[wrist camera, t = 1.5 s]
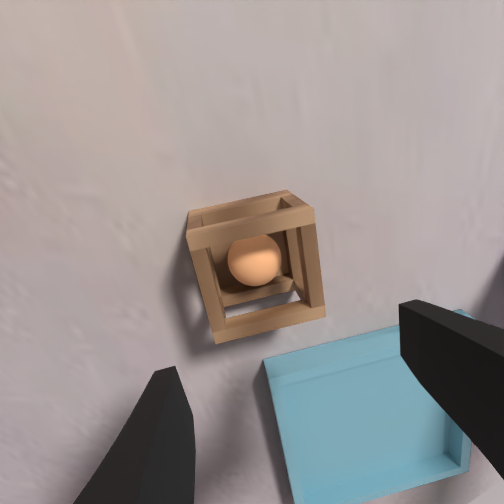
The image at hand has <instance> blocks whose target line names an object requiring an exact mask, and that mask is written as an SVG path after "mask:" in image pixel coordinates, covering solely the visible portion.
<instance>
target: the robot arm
mask: <svg viewBox="0 0 504 504" xmlns="http://www.w3.org/2000/svg"><path fill="white" fill-rule="evenodd" d="M399 332H400V356H401V357H402V359H403V360H404V362H405V363H406V365H407V366H408V368H409V369H410V370H411V372H412V373H413V375H414V376H415V377H416V379H417V380H418V382H419V383H420V384H421V385H422V386H423V388H424V389H425V390H426V391H427V392H428V393H429V394H430V395H431V397H432V398H433V399H434V400H435V401H436V402H437V403H438V404H439V406H440V407H441V408H442V409H443V410H444V411H445V412H446V413H447V414H448V415H449V417H450V418H451V419H452V420H453V421H454V422H455V423H456V424H457V425H458V426H459V428H460V429H461V430H462V431H463V432H464V433H465V434H466V435H467V436H468V438H469V439H470V440H471V441H472V442H473V443H474V444H475V445H476V446H477V447H478V449H479V450H480V451H481V452H482V453H483V455H484V456H485V457H486V458H487V459H488V460H489V462H490V463H491V464H492V465H493V467H494V468H495V469H496V471H497V472H498V473H499V475H500V476H501V477H502V478H503V480H504V329H501V328H498V327H495V326H492V325H489V324H486V323H484V322H481V321H478V320H475V319H472V318H469V317H467V316H464V315H461V314H458V313H456V312H453V311H450V310H447V309H444V308H442V307H439V306H436V305H433V304H430V303H427V302H424V301H420V300H417V299H416V300H412V301H408V302H405V303H401V304H399ZM195 454H196V449H195V434H194V421H193V414H192V411H191V408H190V406H189V403H188V400H187V397H186V395H185V392H184V389H183V386H182V384H181V381H180V378H179V375H178V372H177V370H176V367H175V366H172V367H169V368H165V369H162V370H158V371H155V372H154V374H153V375H152V377H151V379H150V381H149V382H148V384H147V386H146V388H145V390H144V392H143V394H142V395H141V397H140V399H139V401H138V403H137V404H136V406H135V408H134V410H133V412H132V413H131V415H130V417H129V419H128V420H127V422H126V424H125V425H124V427H123V429H122V431H121V432H120V434H119V436H118V437H117V439H116V441H115V442H114V444H113V445H112V447H111V448H110V450H109V452H108V453H107V455H106V456H105V458H104V459H103V461H102V463H101V464H100V466H99V467H98V469H97V470H96V472H95V473H94V475H93V476H92V478H91V479H90V481H89V482H88V483H87V485H86V486H85V488H84V489H83V491H82V492H81V493H80V495H79V496H78V498H77V499H76V500H75V502H74V503H73V504H194V484H195Z"/></svg>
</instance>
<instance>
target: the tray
mask: <svg viewBox="0 0 504 504" xmlns="http://www.w3.org/2000/svg"><path fill="white" fill-rule="evenodd" d="M453 312H456V313H458V314H461V315H464V316H467V317H469V318H472V319H474V318H473V317H471V316H470V315H468V314H467V313H466V312H464V311H463V310H461V309H460V310H456V311H453ZM475 320H476V319H475ZM263 360H264V365H265V370H266V375H267V379H268V384H269V389H270V393H271V398H272V403H273V408H274V412H275V417H276V422H277V427H278V431H279V436H280V441H281V446H282V450H283V455H284V460H285V465H286V469H287V474H288V479H289V483H290V488H291V493H292V497H293V501H294V504H359V503H363V502H366V501H370V500H373V499H376V498H380V497H383V496H387V495H390V494H393V493H397V492H400V491H404V490H407V489H410V488H414V487H417V486H421V485H424V484H427V483H431V482H434V481H438V480H441V479H444V478H448V477H451V476H455V475H458V474H461V473H465V472H468V471H469V464H470V453H471V442H472V441H471V440H470V439H469V438H468V436H467V435H466V434H465V433H464V432H463V431H462V430H461V429H460V428H459V426H458V425H457V424H456V423H455V422H454V421H453V420H452V419H451V418H450V417H449V415H448V414H447V413H446V412H445V411H444V410H443V409H442V408H441V407H440V406H439V404H438V403H437V402H436V401H435V400H434V399H433V398H432V397H431V395H430V394H429V393H428V392H427V391H426V390H425V389H424V388H423V386H422V385H421V384H420V383H419V382H418V380H417V379H416V377H415V376H414V375H413V373H412V372H411V370H410V369H409V368H408V366H407V365H406V363H405V362H404V360H403V359H402V357H401V356H400V332H399V325H397V326H393V327H389V328H385V329H381V330H377V331H373V332H369V333H365V334H361V335H357V336H353V337H350V338H346V339H342V340H338V341H334V342H330V343H326V344H322V345H318V346H314V347H310V348H306V349H302V350H298V351H294V352H290V353H286V354H283V355H279V356H275V357H271V358H267V359H263Z"/></svg>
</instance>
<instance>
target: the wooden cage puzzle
mask: <svg viewBox="0 0 504 504" xmlns="http://www.w3.org/2000/svg"><path fill="white" fill-rule="evenodd" d="M260 235H267V236H269V237H271V238H272V239H273V240H274V241H275V242H276V244H277V245H278V247H279V249H280V252H281V266H280V269H279V271H278V273H277V275H276V276H275V277H274V278H273V279H272V280H271V281H270V282H268V283H266V284H264V285H260V286H249V285H245V284H243V283H241V282H239V281H238V280H237V279H236V278H235V277H234V276H233V275H232V273H231V271H230V269H229V266H228V252H229V249H230V247H231V245H232V244H233V242H234V241H238V240H243V239H247V238H252V237H256V236H260ZM186 239H187V243H188V246H189V250H190V254H191V257H192V261H193V265H194V268H195V272H196V275H197V279H198V283H199V286H200V290H201V294H202V297H203V301H204V305H205V308H206V312H207V315H208V319H209V323H210V326H211V330H212V334H213V337H214V341H215V344H219V343H223V342H227V341H231V340H235V339H239V338H243V337H247V336H251V335H255V334H259V333H263V332H267V331H271V330H275V329H279V328H283V327H287V326H291V325H295V324H299V323H303V322H307V321H311V320H315V319H319V318H323V317H326V312H325V303H324V294H323V286H322V277H321V269H320V260H319V251H318V243H317V234H316V226H315V217H314V208H312V207H311V206H309V205H308V204H306V203H305V202H304V201H302V200H301V199H299V198H298V197H296V196H295V195H293V194H292V193H291V192H289V191H288V190H284V191H279V192H275V193H270V194H265V195H261V196H256V197H252V198H247V199H242V200H238V201H233V202H229V203H224V204H219V205H215V206H210V207H205V208H201V209H196V210H192V211H189V215H188V223H187V232H186ZM293 290H295V291H296V292H297V294H298V296H299V297H300V299H301V300H299V301H295V302H291V303H287V304H283V305H279V306H275V307H271V308H266V309H262V310H258V311H254V312H250V313H246V314H242V315H238V316H233V317H229V318H226V316H225V309H224V307H226V306H230V305H235V304H239V303H243V302H247V301H251V300H255V299H260V298H264V297H268V296H272V295H276V294H280V293H285V292H289V291H293Z"/></svg>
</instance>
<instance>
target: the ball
mask: <svg viewBox="0 0 504 504" xmlns="http://www.w3.org/2000/svg"><path fill="white" fill-rule="evenodd" d="M228 266H229V269H230V271H231V273H232V275H233V276H234V277H235V278H236V279H237V280H238V281H239V282H241V283H243V284H245V285H249V286H260V285H264V284H266V283H268V282H270V281H271V280H272V279H273V278H274V277H275V276H276V275H277V273H278V271H279V269H280V266H281V252H280V249H279V247H278V245H277V244H276V242H275V241H274V240H273V239H272V238H271V237H269V236H267V235H260V236H256V237H252V238H247V239H243V240H238V241H234V242H233V244H232V245H231V247H230V249H229V252H228Z"/></svg>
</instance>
